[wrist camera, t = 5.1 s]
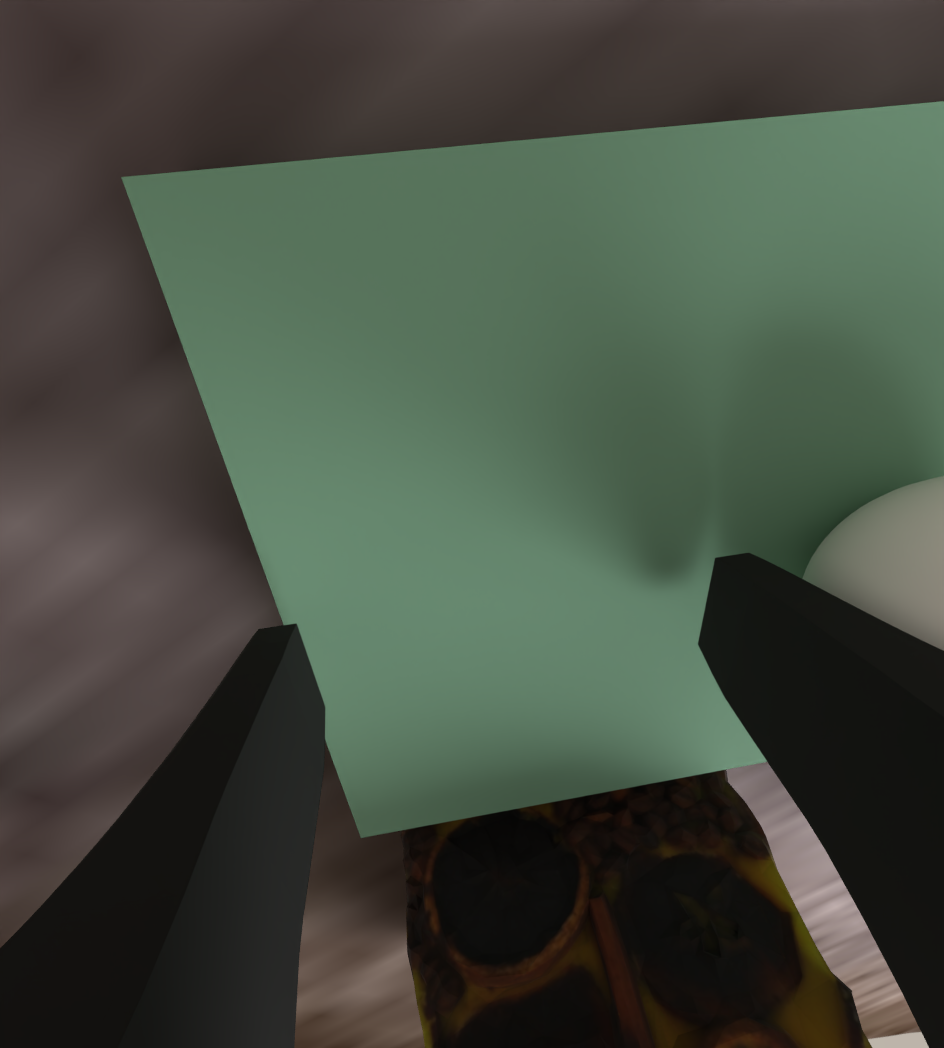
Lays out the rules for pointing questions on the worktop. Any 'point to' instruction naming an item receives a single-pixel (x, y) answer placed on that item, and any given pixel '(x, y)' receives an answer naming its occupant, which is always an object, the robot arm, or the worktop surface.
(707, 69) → the worktop surface
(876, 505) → the ball
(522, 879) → the yellow cube with hole
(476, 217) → the green mat
